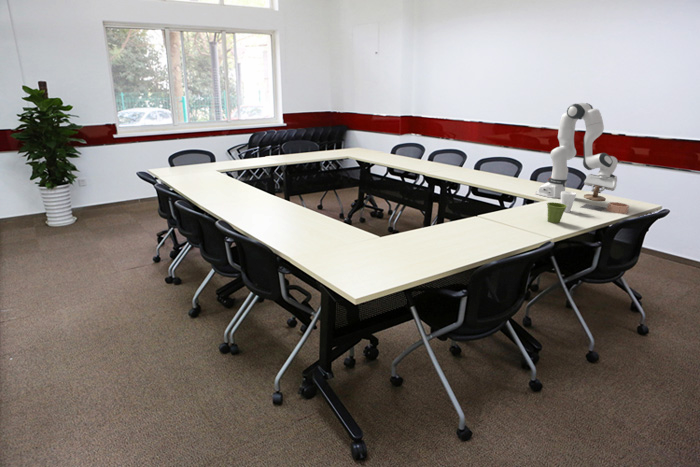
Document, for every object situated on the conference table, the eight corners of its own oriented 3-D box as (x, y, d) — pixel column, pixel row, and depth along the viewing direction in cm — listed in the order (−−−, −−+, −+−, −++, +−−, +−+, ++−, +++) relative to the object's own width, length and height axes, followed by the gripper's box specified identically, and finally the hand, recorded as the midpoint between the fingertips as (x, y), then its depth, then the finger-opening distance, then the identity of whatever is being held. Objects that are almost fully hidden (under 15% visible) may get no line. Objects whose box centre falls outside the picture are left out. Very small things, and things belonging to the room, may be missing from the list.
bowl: (605, 211, 312) (606, 204, 310) (610, 208, 320) (611, 201, 318) (624, 214, 304) (625, 207, 302) (629, 211, 312) (630, 204, 310)
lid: (580, 197, 316) (583, 185, 313) (587, 194, 326) (590, 182, 323) (601, 202, 307) (605, 190, 304) (607, 199, 317) (611, 187, 314)
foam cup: (574, 213, 303) (577, 194, 299) (559, 212, 305) (563, 193, 301) (570, 209, 312) (573, 191, 308) (556, 208, 314) (559, 190, 310)
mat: (579, 207, 318) (579, 207, 318) (586, 204, 328) (586, 203, 328) (600, 211, 309) (600, 211, 309) (606, 208, 319) (606, 207, 318)
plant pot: (549, 224, 277) (552, 207, 273) (540, 218, 288) (543, 202, 284) (567, 224, 278) (571, 207, 274) (557, 219, 289) (560, 202, 285)
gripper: (588, 171, 322) (580, 186, 319) (619, 176, 309) (611, 192, 306) (588, 176, 327) (580, 191, 323) (619, 182, 313) (611, 197, 310)
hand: (595, 191), depth 314 cm, fingers closed on lid, 3 cm apart
